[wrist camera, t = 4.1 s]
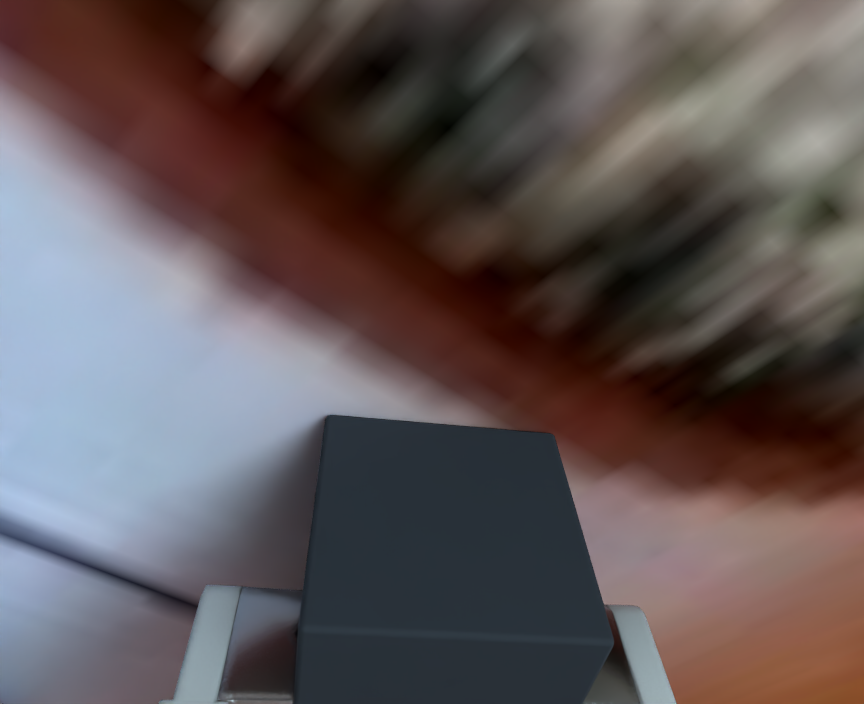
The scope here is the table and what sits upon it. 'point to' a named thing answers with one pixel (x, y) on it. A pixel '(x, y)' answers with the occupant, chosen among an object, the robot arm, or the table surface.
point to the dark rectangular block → (446, 571)
